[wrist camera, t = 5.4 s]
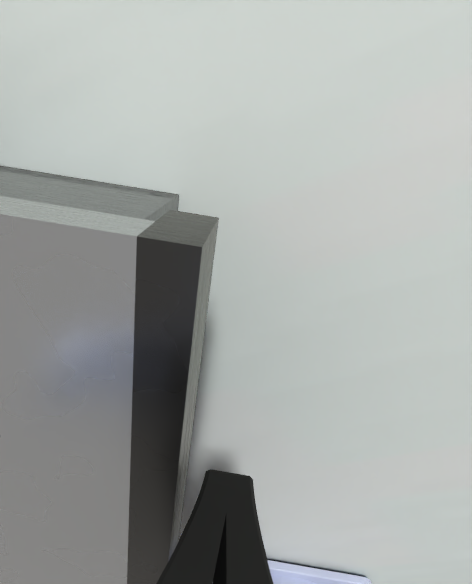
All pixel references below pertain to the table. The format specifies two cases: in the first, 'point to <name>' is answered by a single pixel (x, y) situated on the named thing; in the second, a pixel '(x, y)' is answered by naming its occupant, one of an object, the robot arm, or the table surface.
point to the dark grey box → (85, 194)
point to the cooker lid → (97, 388)
